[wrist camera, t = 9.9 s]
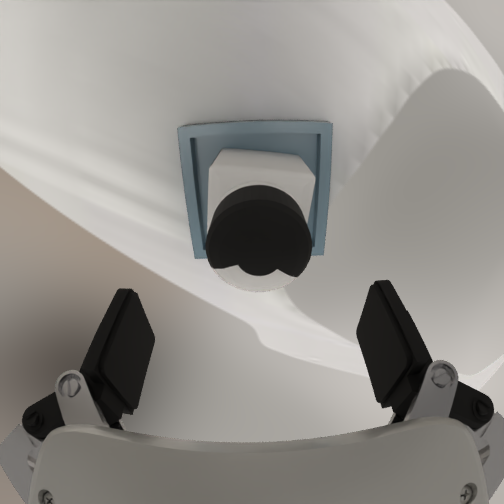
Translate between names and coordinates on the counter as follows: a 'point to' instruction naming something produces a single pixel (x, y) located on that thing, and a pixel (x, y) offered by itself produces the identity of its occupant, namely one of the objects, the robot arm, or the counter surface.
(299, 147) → the tray
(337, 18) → the counter surface
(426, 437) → the robot arm
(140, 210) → the counter surface
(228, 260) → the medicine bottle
